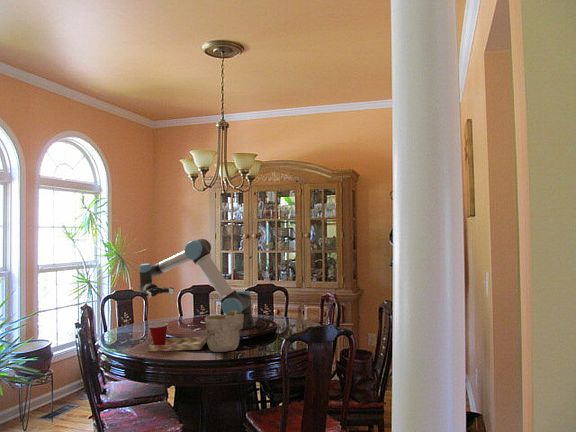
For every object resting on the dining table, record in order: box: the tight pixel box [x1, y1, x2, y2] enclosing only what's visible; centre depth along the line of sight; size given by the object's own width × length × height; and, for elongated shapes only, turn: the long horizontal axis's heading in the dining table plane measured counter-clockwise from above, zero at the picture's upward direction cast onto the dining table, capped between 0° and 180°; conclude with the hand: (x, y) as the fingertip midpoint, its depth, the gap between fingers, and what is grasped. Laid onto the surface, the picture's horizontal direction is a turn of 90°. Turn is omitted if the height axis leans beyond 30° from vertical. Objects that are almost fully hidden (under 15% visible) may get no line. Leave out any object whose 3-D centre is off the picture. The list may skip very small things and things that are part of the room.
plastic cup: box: [147, 322, 169, 345], centre depth 276 cm, size 11×11×12 cm
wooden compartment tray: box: [147, 336, 207, 352], centre depth 276 cm, size 29×15×3 cm, turn 87°
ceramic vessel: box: [204, 311, 244, 353], centre depth 268 cm, size 23×24×25 cm
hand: (162, 293), depth 291 cm, fingers open, 13 cm apart
